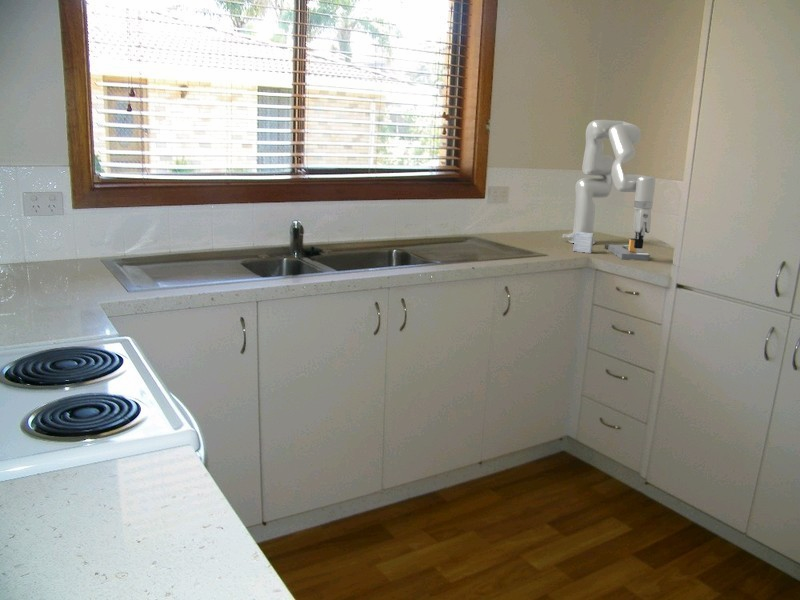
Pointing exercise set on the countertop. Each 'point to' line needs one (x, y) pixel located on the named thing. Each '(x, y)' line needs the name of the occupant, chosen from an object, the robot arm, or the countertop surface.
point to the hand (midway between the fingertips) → (638, 248)
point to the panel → (628, 252)
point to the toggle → (632, 245)
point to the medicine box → (583, 242)
